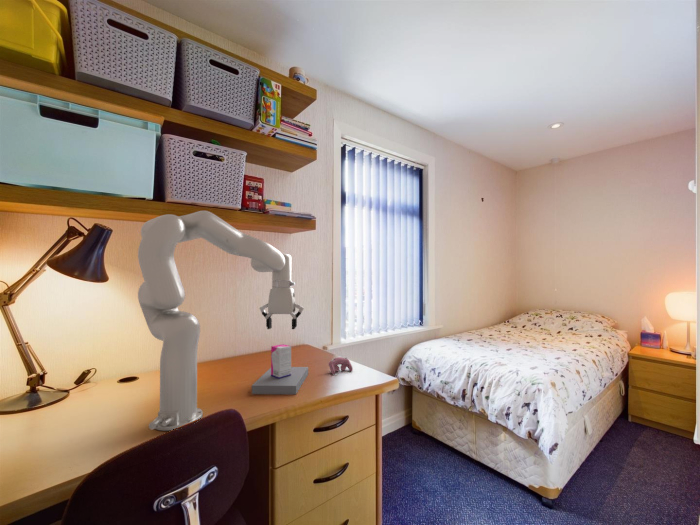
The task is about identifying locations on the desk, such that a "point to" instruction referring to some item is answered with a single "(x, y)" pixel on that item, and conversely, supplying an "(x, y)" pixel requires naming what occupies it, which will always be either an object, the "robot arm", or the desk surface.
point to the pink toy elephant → (337, 361)
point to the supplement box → (280, 361)
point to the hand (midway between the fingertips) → (281, 328)
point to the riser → (280, 382)
